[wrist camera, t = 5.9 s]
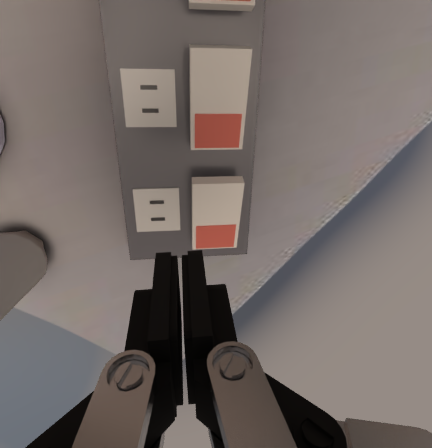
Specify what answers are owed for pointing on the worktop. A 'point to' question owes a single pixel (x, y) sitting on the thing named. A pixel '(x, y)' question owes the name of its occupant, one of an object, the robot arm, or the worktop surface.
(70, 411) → the robot arm
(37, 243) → the salt shaker
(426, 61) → the worktop surface
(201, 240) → the rocker far
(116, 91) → the rocker switch panel
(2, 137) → the soap bottle
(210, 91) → the rocker middle
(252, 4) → the rocker near
